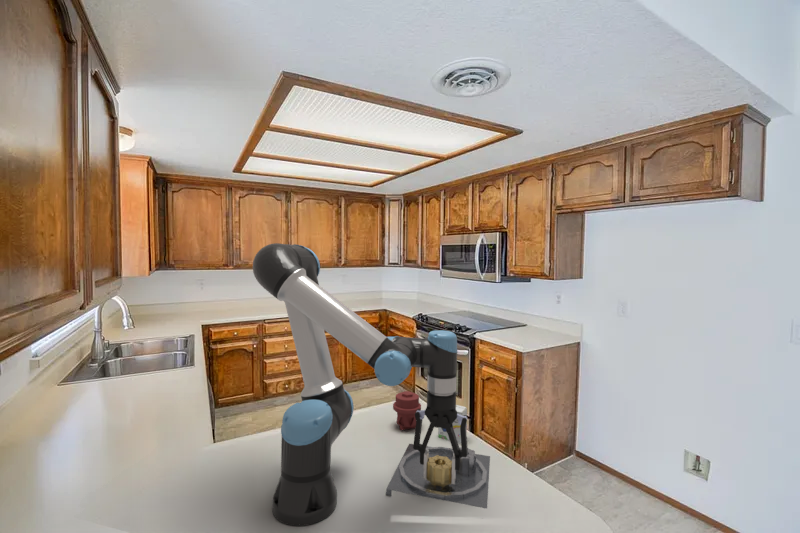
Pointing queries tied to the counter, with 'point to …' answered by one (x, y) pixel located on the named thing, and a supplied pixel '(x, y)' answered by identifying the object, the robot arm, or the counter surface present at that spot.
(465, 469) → the seated gear
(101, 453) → the counter surface
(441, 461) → the planet gear
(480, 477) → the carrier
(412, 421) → the mechanical component
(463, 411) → the ink box
